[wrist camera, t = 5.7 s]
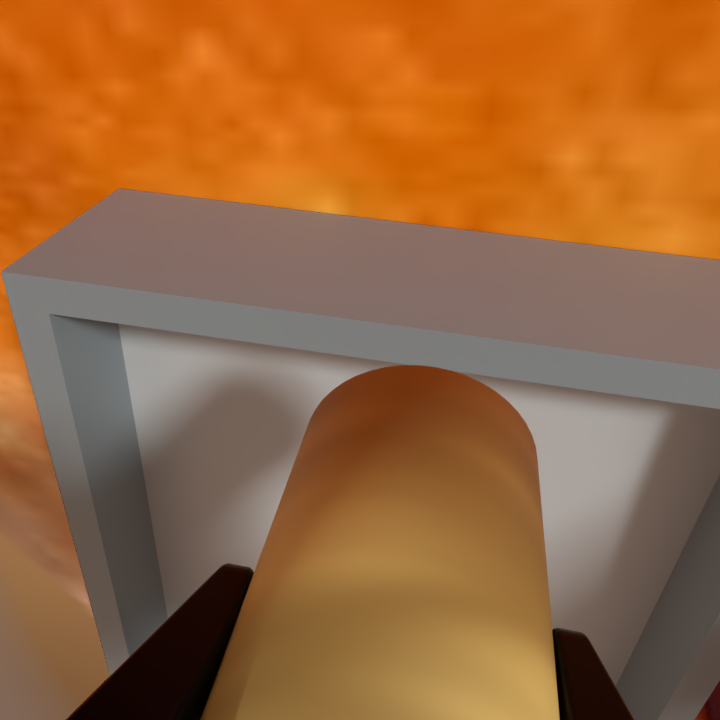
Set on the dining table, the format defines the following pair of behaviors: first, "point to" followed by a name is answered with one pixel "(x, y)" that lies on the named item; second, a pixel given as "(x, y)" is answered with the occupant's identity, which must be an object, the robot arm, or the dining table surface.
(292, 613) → the yellow peg
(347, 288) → the slate box
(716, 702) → the soda can
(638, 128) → the dining table surface
